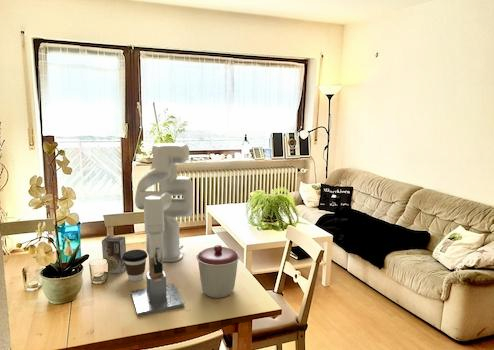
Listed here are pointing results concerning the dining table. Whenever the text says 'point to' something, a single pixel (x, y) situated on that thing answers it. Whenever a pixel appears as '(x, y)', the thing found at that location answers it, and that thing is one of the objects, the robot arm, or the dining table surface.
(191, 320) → the dining table surface
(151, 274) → the post
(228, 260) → the canister
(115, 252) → the coffee box
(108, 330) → the dining table surface
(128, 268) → the coffee cup
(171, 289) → the stand
